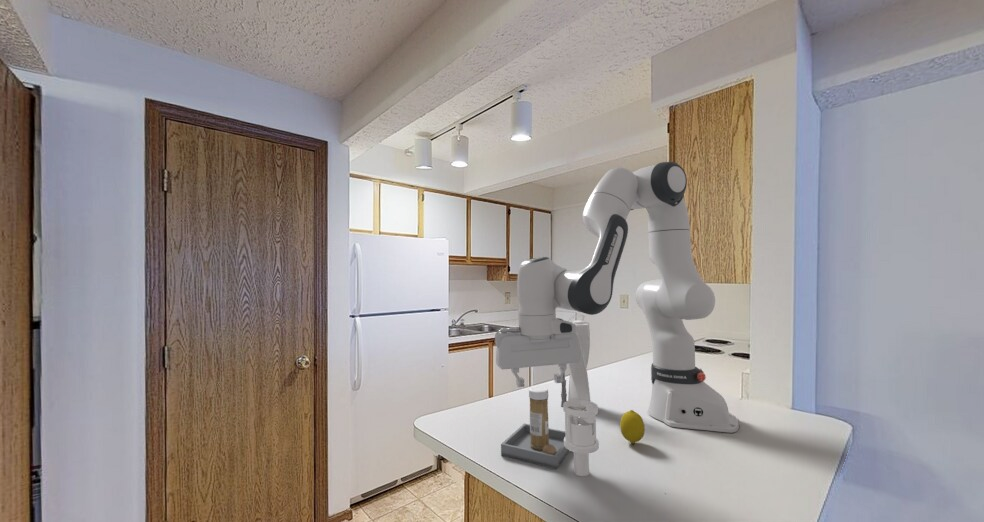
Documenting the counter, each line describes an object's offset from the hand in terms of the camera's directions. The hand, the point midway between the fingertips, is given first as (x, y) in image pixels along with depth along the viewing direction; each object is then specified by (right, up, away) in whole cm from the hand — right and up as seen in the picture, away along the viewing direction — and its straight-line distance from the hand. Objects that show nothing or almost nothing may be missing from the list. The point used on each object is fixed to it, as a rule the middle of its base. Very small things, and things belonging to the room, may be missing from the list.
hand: (539, 384), depth 90 cm
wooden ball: (+1, -13, -6) cm, 14 cm away
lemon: (+23, -15, +2) cm, 27 cm away
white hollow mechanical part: (+7, -15, -11) cm, 20 cm away
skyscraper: (+16, -16, +29) cm, 36 cm away
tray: (0, -15, 0) cm, 15 cm away
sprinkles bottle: (0, -15, 0) cm, 15 cm away
